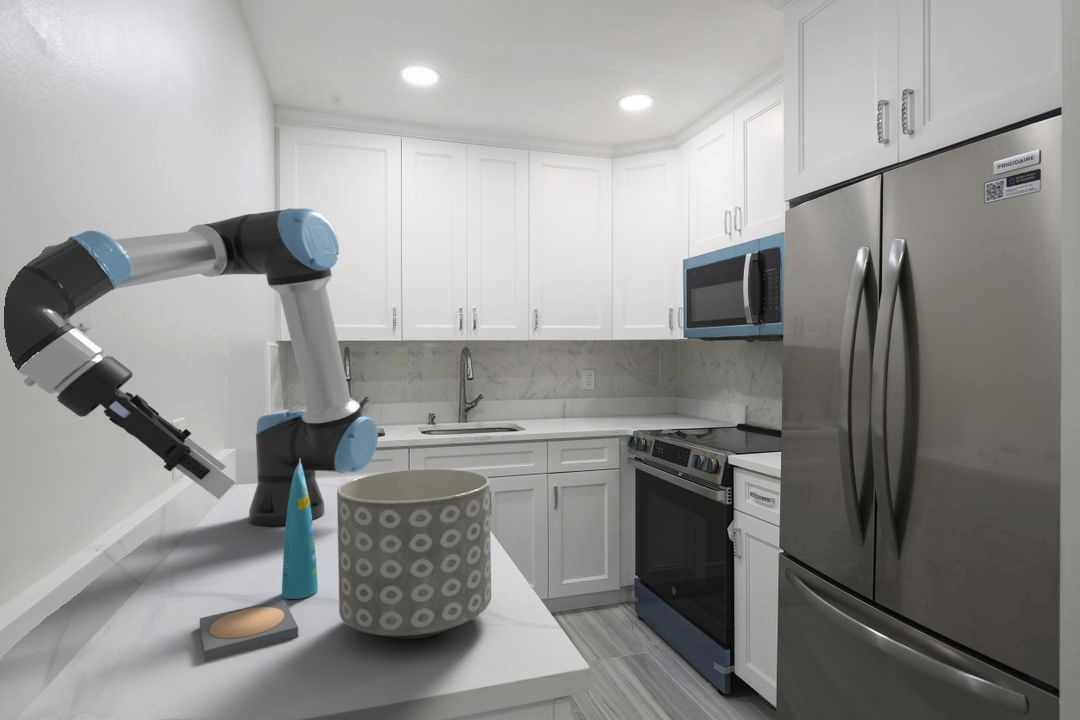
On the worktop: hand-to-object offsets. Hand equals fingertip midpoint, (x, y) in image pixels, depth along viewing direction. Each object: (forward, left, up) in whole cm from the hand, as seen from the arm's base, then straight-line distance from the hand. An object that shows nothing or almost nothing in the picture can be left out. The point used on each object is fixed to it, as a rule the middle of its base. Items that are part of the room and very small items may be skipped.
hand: (222, 481), depth 79 cm
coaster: (+9, +2, -18) cm, 20 cm away
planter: (+19, +20, -18) cm, 33 cm away
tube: (0, +10, -18) cm, 20 cm away
